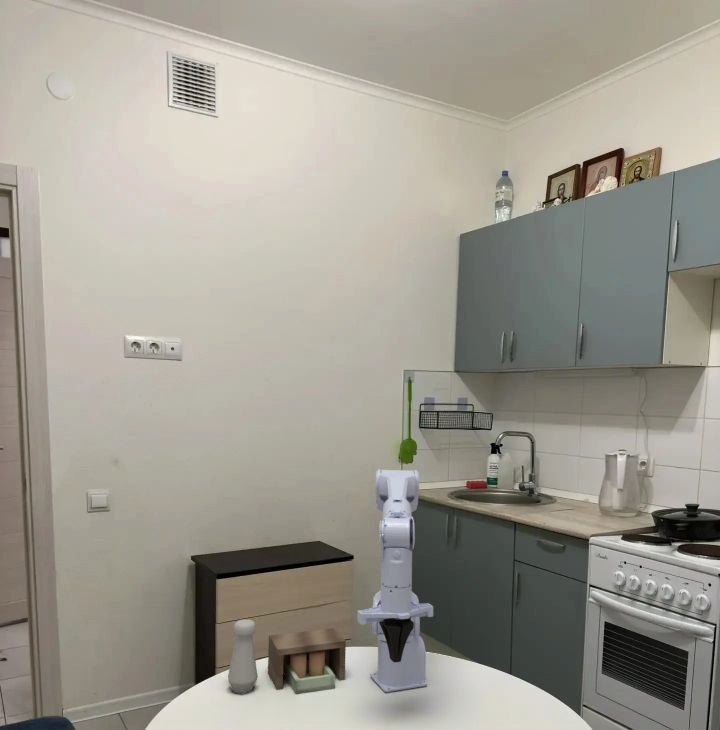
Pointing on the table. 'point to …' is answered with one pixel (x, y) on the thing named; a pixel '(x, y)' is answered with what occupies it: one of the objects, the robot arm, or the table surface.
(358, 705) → the table surface
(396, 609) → the robot arm
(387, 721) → the table surface
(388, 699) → the table surface
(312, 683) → the tray
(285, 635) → the shelf
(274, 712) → the table surface
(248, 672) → the salt shaker
